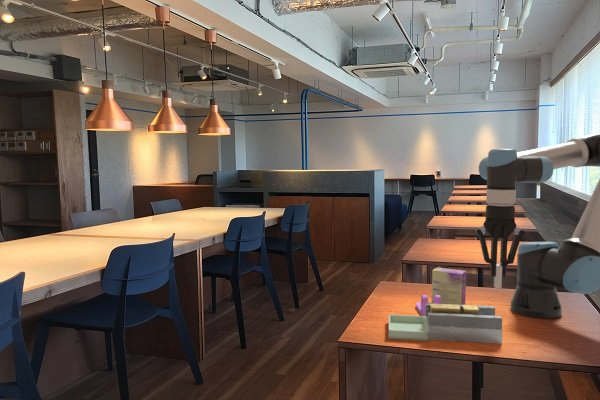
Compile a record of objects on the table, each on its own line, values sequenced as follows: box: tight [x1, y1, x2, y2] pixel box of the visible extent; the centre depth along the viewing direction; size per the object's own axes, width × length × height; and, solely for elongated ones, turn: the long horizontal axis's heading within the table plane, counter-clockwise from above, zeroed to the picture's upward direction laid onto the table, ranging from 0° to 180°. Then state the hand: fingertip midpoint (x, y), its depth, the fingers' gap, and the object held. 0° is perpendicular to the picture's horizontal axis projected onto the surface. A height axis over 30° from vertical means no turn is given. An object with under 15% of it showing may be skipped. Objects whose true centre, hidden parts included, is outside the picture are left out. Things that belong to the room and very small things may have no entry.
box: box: [431, 267, 467, 305], centre depth 169 cm, size 10×6×12 cm, turn 58°
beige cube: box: [462, 304, 479, 315], centre depth 139 cm, size 4×4×4 cm
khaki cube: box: [430, 303, 446, 313], centre depth 141 cm, size 4×4×4 cm
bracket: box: [415, 294, 441, 317], centre depth 161 cm, size 13×6×7 cm, turn 0°
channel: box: [426, 302, 503, 345], centre depth 140 cm, size 20×12×7 cm, turn 80°
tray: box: [388, 313, 430, 342], centre depth 143 cm, size 11×14×2 cm
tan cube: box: [444, 304, 460, 314], centre depth 140 cm, size 4×4×4 cm
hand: (497, 287), depth 137 cm, fingers closed
